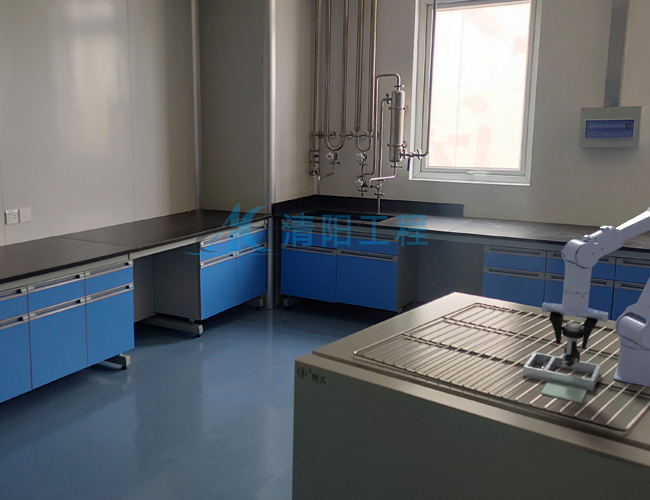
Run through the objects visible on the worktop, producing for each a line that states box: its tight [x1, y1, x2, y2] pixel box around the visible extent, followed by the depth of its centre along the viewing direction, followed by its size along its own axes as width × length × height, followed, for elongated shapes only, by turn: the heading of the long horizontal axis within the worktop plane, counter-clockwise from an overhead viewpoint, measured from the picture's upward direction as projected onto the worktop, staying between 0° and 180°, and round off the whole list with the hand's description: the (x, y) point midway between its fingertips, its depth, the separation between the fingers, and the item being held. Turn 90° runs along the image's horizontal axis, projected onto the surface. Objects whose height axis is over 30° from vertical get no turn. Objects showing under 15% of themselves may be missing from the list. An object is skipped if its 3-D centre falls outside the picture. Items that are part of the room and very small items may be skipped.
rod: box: [539, 361, 549, 370], centre depth 155 cm, size 2×8×2 cm
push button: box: [561, 321, 584, 367], centre depth 146 cm, size 7×5×10 cm
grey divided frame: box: [522, 351, 602, 392], centre depth 153 cm, size 16×12×2 cm
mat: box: [540, 381, 588, 404], centre depth 143 cm, size 9×7×1 cm
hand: (571, 344), depth 146 cm, fingers closed on push button, 5 cm apart
